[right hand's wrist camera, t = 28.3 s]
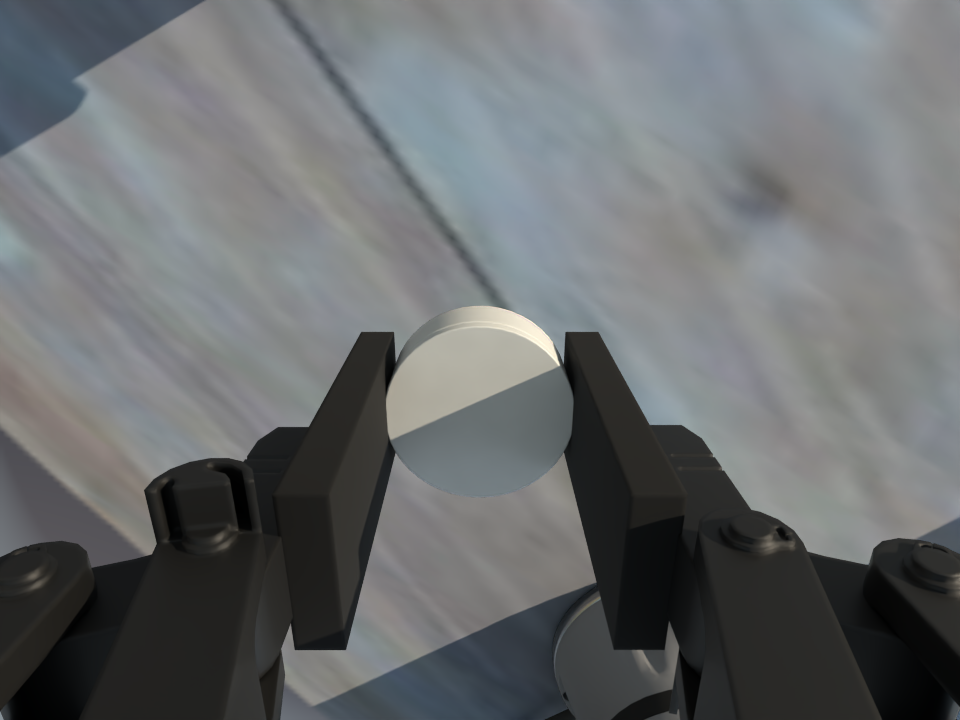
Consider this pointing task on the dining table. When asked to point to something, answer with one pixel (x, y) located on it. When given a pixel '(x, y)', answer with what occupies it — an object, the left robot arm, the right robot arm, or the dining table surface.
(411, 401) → the cap
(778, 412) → the dining table surface
